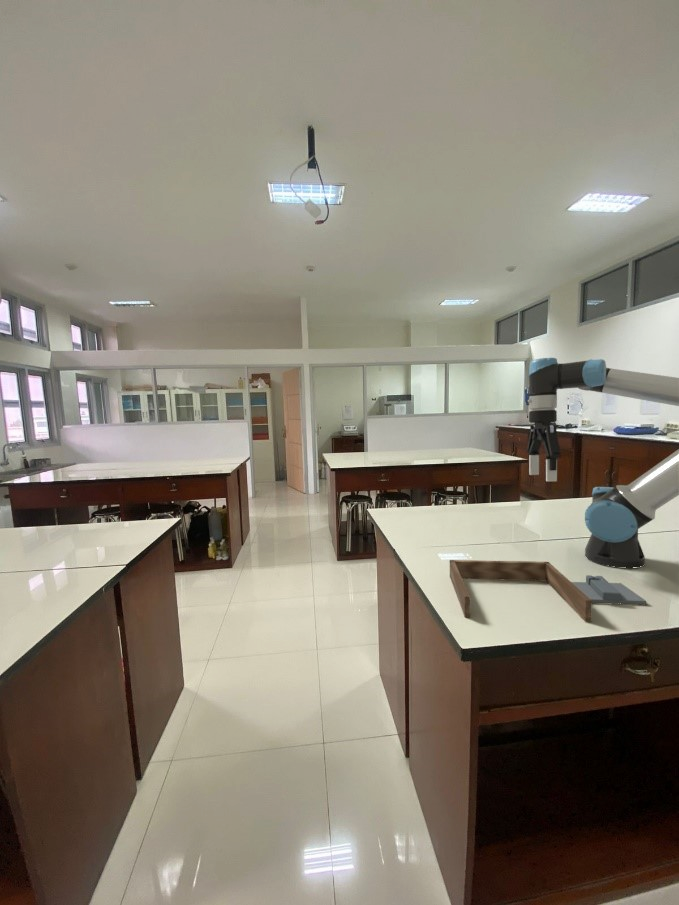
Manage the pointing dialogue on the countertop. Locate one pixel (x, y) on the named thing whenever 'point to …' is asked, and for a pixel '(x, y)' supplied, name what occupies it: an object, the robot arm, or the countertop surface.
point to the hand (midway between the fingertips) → (542, 477)
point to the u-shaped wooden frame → (517, 572)
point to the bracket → (603, 588)
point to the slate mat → (626, 598)
